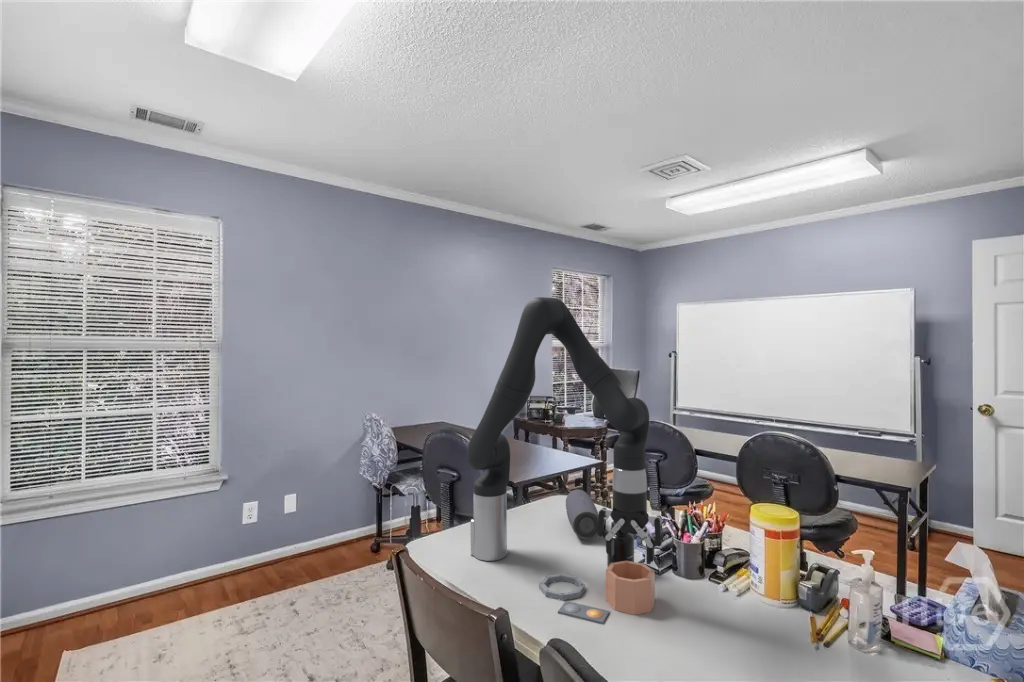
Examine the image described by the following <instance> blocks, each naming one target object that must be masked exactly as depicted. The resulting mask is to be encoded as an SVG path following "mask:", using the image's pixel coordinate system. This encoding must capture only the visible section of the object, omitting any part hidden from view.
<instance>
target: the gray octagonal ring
mask: <svg viewBox="0 0 1024 682" xmlns="http://www.w3.org/2000/svg"><path fill="white" fill-rule="evenodd" d="M559 580H563V581H562V582H566V581H567V583H571V582H572V583H571V584H575V585H576V587H577V588H576V589H575V590H572V591H571V590H570V591H566V592H560V591H556V590H551V589H549V588H548V587H547V586H548V585H549V584H550V583H554V582H553V581H556V582H560V581H559ZM549 582H550V583H549ZM538 585H539V586H538V587H539V590H540V591H541V592H542V594H543V593H544V594H543V595H544V596H545V597H546V598H550V597H552V598H551V599H554V598H556V599H555V600H558V599H560V601H568V600H567V599H569V600H572V599H571V598H574V599H579V598H581V596H582V595H583V593H584V592H585V591H586V584H585V583H584V582H583V581H582V580H581V579H580V578H579V577H578V576H575V575H569V574H565V573H558V574H551V575H545V577H544V578H543V579H542V580H541V581H540V582H539V583H538ZM546 585H547V586H546Z"/></svg>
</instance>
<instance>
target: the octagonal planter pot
mask: <svg viewBox="0 0 1024 682" xmlns="http://www.w3.org/2000/svg"><path fill="white" fill-rule="evenodd" d="M655 574H656V571H655V570H653V569H652V568H651V567H649V566H648V565H647V564H645V563H641V562H636V561H634V562H631V561H621V562H615V563H611V564H610V565H609V567H608V568H606V569H605V593H606V594H605V602H606V603H607V602H608V603H609V604H608V603H607V604H608V605H609V606H610V605H611V606H610V607H611V608H612V607H613V609H614V611H617V612H621V613H624V614H630V615H634V616H637V615H640V614H645V613H650V612H652V610H653V609H654V605H655V603H656V598H655V597H656V587H655V585H656V581H655V580H656V579H655ZM632 579H633V580H632Z"/></svg>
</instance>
